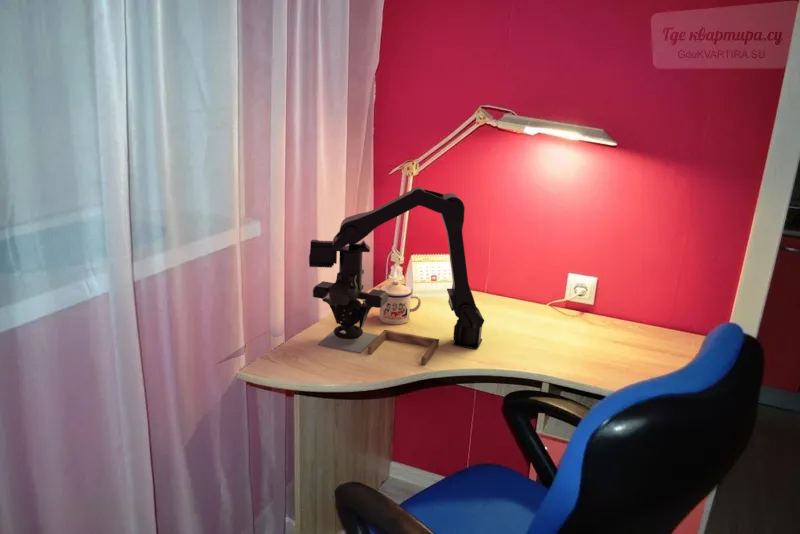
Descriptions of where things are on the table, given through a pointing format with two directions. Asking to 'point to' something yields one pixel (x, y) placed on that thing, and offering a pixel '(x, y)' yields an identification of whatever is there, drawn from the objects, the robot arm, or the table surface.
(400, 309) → the teacup with lid
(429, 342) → the holder
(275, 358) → the table surface
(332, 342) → the mat
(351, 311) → the webcam
